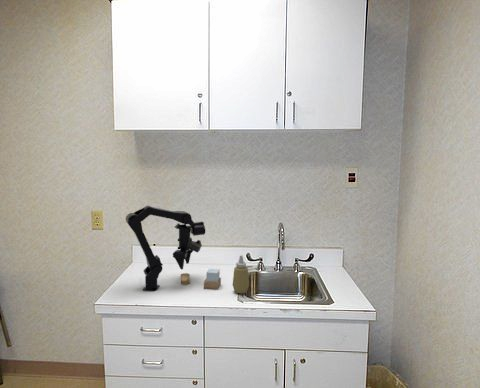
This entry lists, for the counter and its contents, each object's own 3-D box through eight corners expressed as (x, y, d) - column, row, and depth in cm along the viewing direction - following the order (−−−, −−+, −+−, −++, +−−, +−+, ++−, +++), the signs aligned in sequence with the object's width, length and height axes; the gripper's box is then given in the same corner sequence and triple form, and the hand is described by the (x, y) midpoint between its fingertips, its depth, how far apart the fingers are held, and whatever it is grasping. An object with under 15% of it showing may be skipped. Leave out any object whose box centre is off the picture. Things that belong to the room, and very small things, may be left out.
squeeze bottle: (236, 296, 171) (236, 259, 168) (230, 290, 178) (230, 254, 176) (251, 293, 174) (252, 257, 171) (245, 287, 181) (245, 252, 179)
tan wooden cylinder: (188, 285, 184) (188, 276, 183) (179, 284, 185) (179, 276, 184) (190, 281, 188) (190, 273, 188) (182, 281, 189) (182, 272, 189)
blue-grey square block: (217, 281, 179) (217, 273, 178) (206, 281, 179) (206, 272, 179) (219, 278, 184) (219, 269, 183) (208, 277, 185) (208, 268, 184)
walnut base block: (217, 290, 178) (217, 282, 178) (203, 289, 179) (203, 281, 179) (220, 285, 185) (220, 277, 185) (207, 284, 186) (207, 276, 186)
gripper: (194, 241, 173) (194, 273, 175) (204, 233, 191) (204, 261, 193) (172, 240, 175) (172, 271, 177) (184, 232, 193) (184, 260, 195)
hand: (184, 266), depth 185 cm, fingers open, 9 cm apart
